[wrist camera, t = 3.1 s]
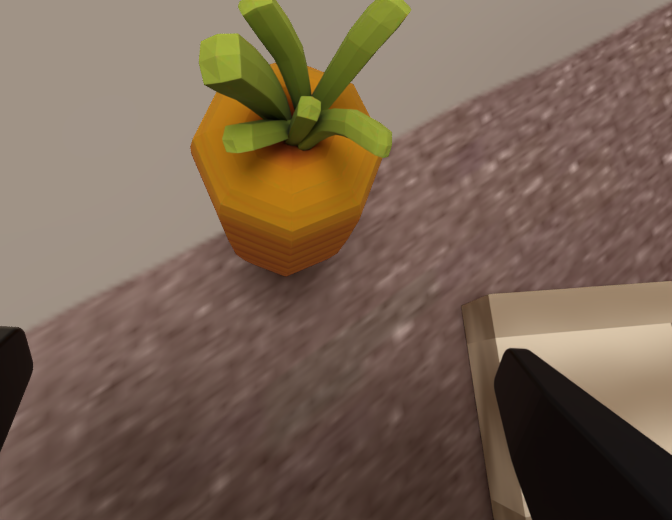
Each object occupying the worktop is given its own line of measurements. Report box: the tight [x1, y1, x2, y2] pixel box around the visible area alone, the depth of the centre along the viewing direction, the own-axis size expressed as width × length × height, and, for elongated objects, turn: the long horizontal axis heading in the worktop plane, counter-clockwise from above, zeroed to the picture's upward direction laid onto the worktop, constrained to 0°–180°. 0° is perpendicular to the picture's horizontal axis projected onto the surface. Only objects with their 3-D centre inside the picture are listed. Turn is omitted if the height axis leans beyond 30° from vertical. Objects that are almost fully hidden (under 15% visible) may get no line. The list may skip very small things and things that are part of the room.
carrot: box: [190, 0, 411, 277], centre depth 15 cm, size 5×5×15 cm
